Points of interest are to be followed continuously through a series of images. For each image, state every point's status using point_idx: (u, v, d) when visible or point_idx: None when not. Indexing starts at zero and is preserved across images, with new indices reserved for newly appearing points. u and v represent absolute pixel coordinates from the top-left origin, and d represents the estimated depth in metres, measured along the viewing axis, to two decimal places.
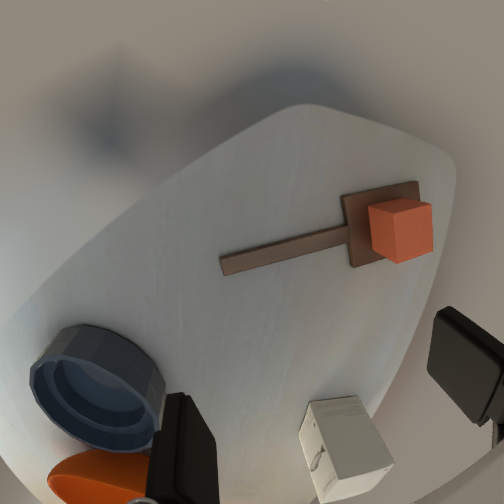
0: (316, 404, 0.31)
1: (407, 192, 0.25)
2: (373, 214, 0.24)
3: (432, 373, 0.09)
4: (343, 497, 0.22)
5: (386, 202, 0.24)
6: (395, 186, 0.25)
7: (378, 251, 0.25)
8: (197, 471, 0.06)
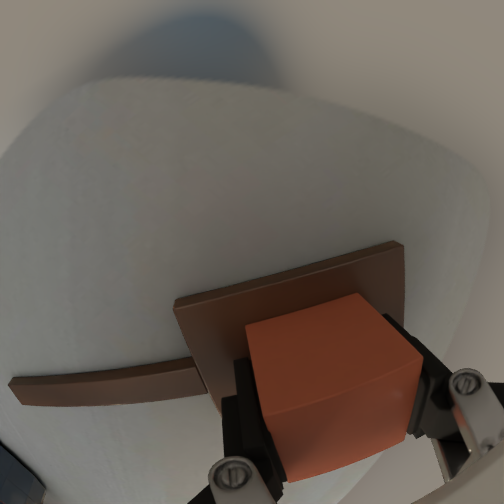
0: None
1: (370, 277, 0.10)
2: None
3: None
4: None
5: (299, 316, 0.10)
6: (334, 267, 0.10)
7: None
8: None
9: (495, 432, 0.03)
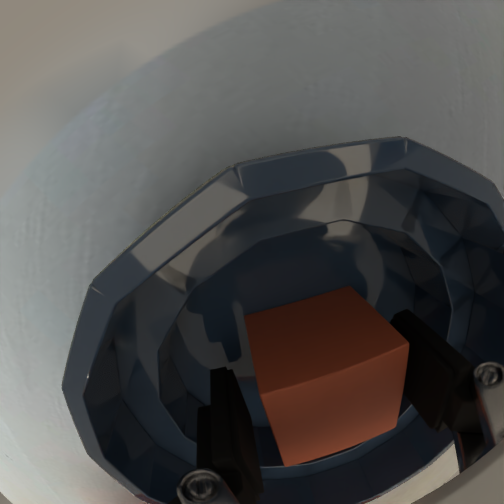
0: None
1: None
2: None
3: None
4: None
5: (295, 306, 0.10)
6: None
7: None
8: (246, 440, 0.07)
9: None
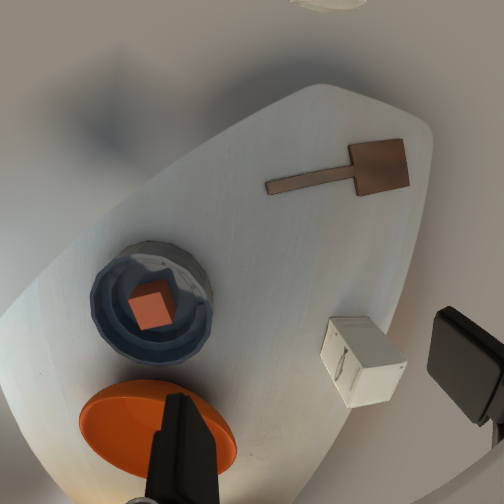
0: (335, 319, 0.41)
1: (394, 145, 0.34)
2: None
3: (432, 373, 0.09)
4: (366, 400, 0.31)
5: (148, 283, 0.35)
6: (385, 140, 0.34)
7: None
8: (197, 471, 0.06)
9: None
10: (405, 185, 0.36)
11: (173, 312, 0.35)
